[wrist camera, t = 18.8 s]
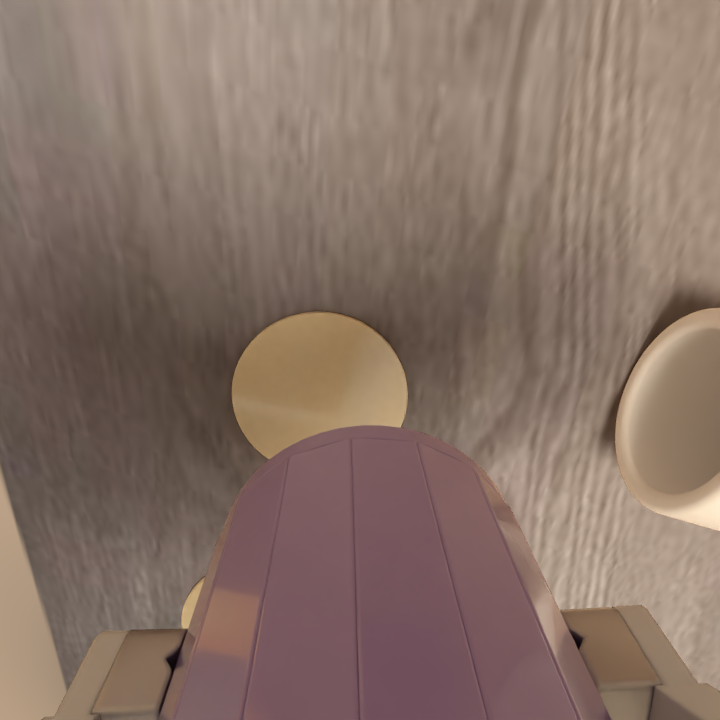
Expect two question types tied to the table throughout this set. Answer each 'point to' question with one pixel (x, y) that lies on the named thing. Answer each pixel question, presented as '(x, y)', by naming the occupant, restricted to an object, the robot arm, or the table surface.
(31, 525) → the table surface
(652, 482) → the mug
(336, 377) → the coasters
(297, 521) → the purple tumbler
